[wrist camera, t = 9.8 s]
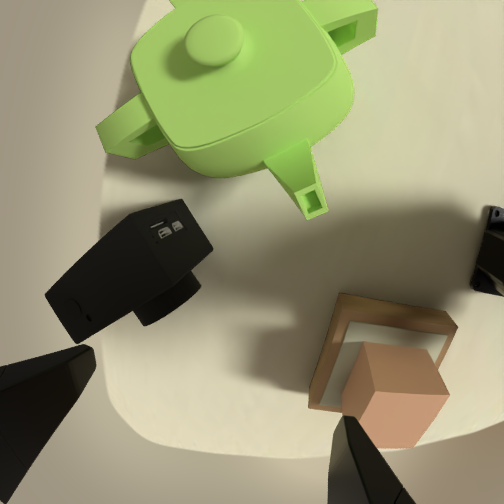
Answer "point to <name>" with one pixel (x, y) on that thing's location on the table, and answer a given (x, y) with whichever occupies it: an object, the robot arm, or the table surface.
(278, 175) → the teapot
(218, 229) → the table surface
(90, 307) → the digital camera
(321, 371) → the stand
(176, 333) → the table surface
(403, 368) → the cube
